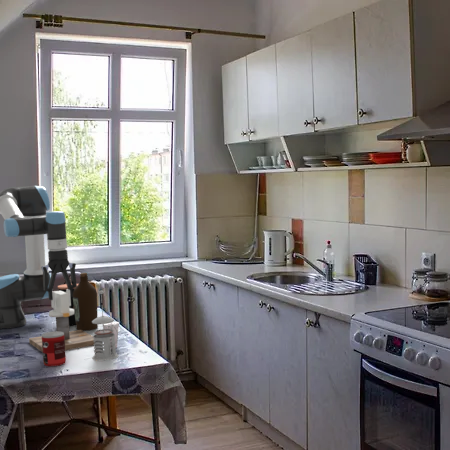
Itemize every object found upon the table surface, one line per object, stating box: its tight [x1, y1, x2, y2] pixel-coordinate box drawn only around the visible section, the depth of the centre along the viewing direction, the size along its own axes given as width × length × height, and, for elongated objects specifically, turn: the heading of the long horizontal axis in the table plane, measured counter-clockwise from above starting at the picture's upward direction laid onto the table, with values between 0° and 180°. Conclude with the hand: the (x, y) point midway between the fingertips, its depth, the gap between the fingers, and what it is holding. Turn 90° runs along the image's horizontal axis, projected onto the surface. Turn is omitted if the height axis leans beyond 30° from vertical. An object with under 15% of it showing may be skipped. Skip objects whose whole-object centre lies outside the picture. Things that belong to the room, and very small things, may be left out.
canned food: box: [41, 330, 67, 367], centre depth 236 cm, size 8×8×11 cm
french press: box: [91, 290, 119, 362], centre depth 241 cm, size 10×12×25 cm
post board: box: [28, 317, 95, 353], centre depth 265 cm, size 22×22×12 cm
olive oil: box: [73, 272, 99, 332], centre depth 290 cm, size 11×11×25 cm
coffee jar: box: [57, 283, 79, 327], centre depth 302 cm, size 11×11×18 cm
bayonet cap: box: [48, 290, 75, 318], centre depth 264 cm, size 12×10×9 cm
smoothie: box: [104, 312, 120, 349], centre depth 255 cm, size 6×6×14 cm
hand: (61, 306), depth 264 cm, fingers open, 6 cm apart
